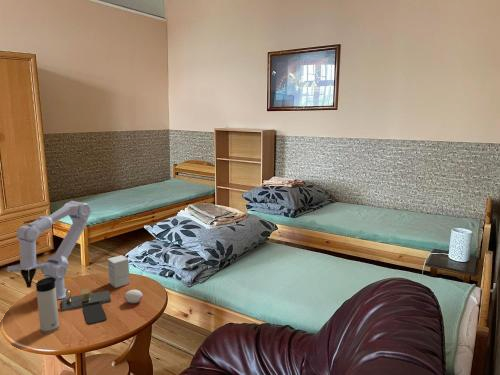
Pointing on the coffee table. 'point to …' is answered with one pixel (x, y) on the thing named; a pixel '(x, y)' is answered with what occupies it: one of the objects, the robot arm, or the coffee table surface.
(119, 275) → the supplement box
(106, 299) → the plate
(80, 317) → the coffee table surface
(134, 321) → the coffee table surface
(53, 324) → the travel mug
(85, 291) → the wooden block
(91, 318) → the phone
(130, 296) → the stress ball
